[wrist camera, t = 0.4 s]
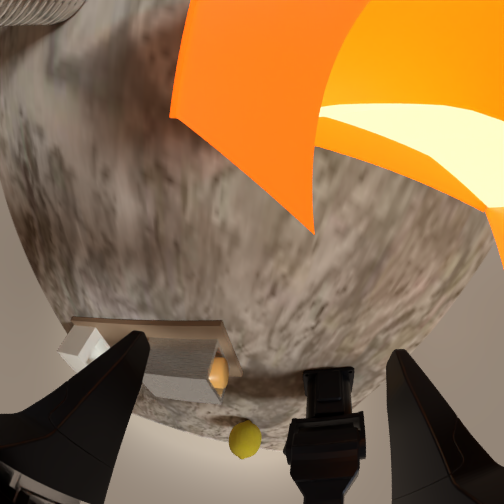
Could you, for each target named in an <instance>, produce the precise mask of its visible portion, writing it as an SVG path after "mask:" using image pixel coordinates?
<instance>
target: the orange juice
mask: <svg viewBox="0 0 504 504" xmlns="http://www.w3.org/2000/svg"><path fill="white" fill-rule="evenodd" d="M169 118H178V119H179V120H180V121H182V122H183V123H184V124H185V125H187V126H188V127H189V128H191V129H192V130H193V131H194V132H196V133H197V134H198V135H199V136H201V137H202V138H203V139H204V140H206V141H207V142H208V143H209V144H211V145H212V146H213V147H214V148H215V149H217V150H218V151H219V152H220V153H222V154H223V155H224V156H225V157H226V158H228V159H229V160H230V161H231V162H232V163H234V164H235V165H236V166H237V167H238V168H240V169H241V170H242V171H243V172H244V173H245V174H247V175H248V176H249V177H250V178H251V179H253V180H254V181H255V182H256V183H257V184H258V185H259V186H261V187H262V188H263V189H264V190H265V191H266V192H267V193H269V194H270V195H271V196H272V197H273V198H274V199H275V200H277V201H278V202H279V203H280V204H281V205H282V206H283V207H284V208H286V209H287V210H288V211H289V212H290V213H291V214H292V215H293V216H294V217H295V218H297V219H298V220H299V221H300V222H301V223H302V224H303V225H304V226H305V227H306V228H307V229H309V230H310V231H311V232H312V233H313V234H314V235H315V233H314V223H313V207H312V169H313V154H314V146H318V147H321V148H325V149H328V150H332V151H335V152H338V153H342V154H345V155H348V156H351V157H354V158H357V159H360V160H363V161H366V162H369V163H372V164H375V165H377V166H380V167H383V168H386V169H388V170H391V171H394V172H396V173H399V174H401V175H404V176H407V177H409V178H411V179H414V180H416V181H419V182H421V183H423V184H426V185H428V186H430V187H433V188H435V189H437V190H439V191H442V192H444V193H446V194H448V195H450V196H452V197H455V198H457V199H459V200H461V201H463V202H465V203H467V204H469V205H471V206H473V207H475V208H477V209H478V210H480V211H482V212H484V211H485V212H486V215H487V218H488V220H489V223H490V226H491V229H492V231H493V234H494V237H495V241H496V244H497V247H498V250H499V254H500V257H501V261H502V264H503V268H504V0H191V2H190V6H189V10H188V14H187V18H186V23H185V27H184V32H183V36H182V41H181V46H180V52H179V57H178V62H177V68H176V74H175V80H174V87H173V94H172V101H171V108H170V116H169Z"/></svg>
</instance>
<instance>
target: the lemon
mask: <svg viewBox="0 0 504 504" xmlns="http://www.w3.org/2000/svg"><path fill="white" fill-rule="evenodd" d="M260 444H261V432H260V430H259V428H258V427H257V426H256V425H255V424H252V422H251V421H250V420H246V421H245V422H242V423H239V424H237V425H236V426H234V427H233V429H232V431H231V433H230V436H229V447H230V450H231V451H232V453H234V454H235V455H236V456H238V457H239V458H240V459H244V458H247V457H251V456H253V455H254V454H255V453H256V452H257V451H258V449H259V447H260Z"/></svg>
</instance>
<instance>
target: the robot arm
mask: <svg viewBox="0 0 504 504" xmlns="http://www.w3.org/2000/svg"><path fill="white" fill-rule="evenodd" d="M149 353H150V344H149V342H148V340H147V337H146V335H145V333H144V332H143V331H138V330H133V331H132V332H130V333H129V334H128V335H126V336H125V337H124V338H122V339H121V340H120V341H118V342H117V343H116V344H115V345H113V346H112V347H111V348H109V349H108V350H107V351H105V352H104V353H103V354H101V355H100V356H99V357H98V358H96V359H95V360H94V361H92V362H91V363H90V364H88V365H87V366H86V367H85V368H83V369H82V370H81V371H79V372H78V373H77V374H76V375H74V376H73V377H72V378H71V379H69V380H68V381H66V382H65V383H64V384H63V385H61V386H60V387H59V388H57V389H56V390H55V391H53V392H52V393H50V394H49V395H47V396H46V397H44V398H43V399H41V400H40V401H38V402H36V403H35V404H33V405H32V406H30V407H28V408H27V409H25V410H23V411H21V412H18V413H14V414H0V504H80V502H81V501H84V502H87V503H90V504H104V501H105V497H106V493H107V490H108V486H109V483H110V479H111V476H112V472H113V468H114V465H115V462H116V459H117V455H118V452H119V449H120V446H121V443H122V440H123V437H124V434H125V431H126V428H127V425H128V422H129V419H130V416H131V413H132V410H133V407H134V405H135V402H136V399H137V396H138V393H139V391H140V388H141V385H142V381H143V377H144V373H145V369H146V365H147V361H148V357H149ZM353 379H354V368H352V367H350V368H340V369H328V370H314V371H304V372H303V380H304V388H305V396H307V408H306V418H304V419H297V418H293V419H292V422H291V424H290V426H289V433H288V437H287V441H286V444H285V447H284V449H283V453H284V454H285V455H286V457H287V462H288V464H289V465H291V469H290V475H291V477H292V479H293V480H294V481H295V483H296V485H297V486H298V488H299V489H300V491H301V493H302V494H303V496H304V502H303V504H344V496H345V495H346V493H347V492H348V490H349V489H350V487H351V486H352V484H353V483H354V481H355V480H356V478H357V477H358V474H359V468H360V466H359V465H360V462H359V461H360V459H365V458H366V439H365V425H364V415H363V411H360V412H358V413H352V404H351V392H352V385H353ZM386 381H387V413H388V421H389V433H390V448H391V468H392V504H504V467H503V466H501V465H499V464H497V463H496V462H495V461H494V460H493V459H492V458H491V457H490V456H489V454H488V453H487V452H486V451H485V450H484V449H483V448H482V447H481V445H480V444H479V443H478V442H477V441H476V440H475V438H473V436H472V435H471V434H470V433H469V431H468V430H467V429H466V427H465V426H464V425H463V423H462V422H461V420H460V419H459V418H458V417H457V415H456V414H455V412H454V411H453V410H452V408H451V407H450V406H449V404H448V403H447V402H446V400H445V399H444V398H443V396H442V395H441V394H440V393H439V391H438V390H437V389H436V387H435V386H434V385H433V384H432V382H431V381H430V380H429V378H428V377H427V376H426V375H425V373H424V372H423V371H422V369H421V368H420V367H419V366H418V365H417V363H416V362H415V361H414V359H413V358H412V357H411V356H410V355H409V353H408V352H407V351H406V350H405V349H395V350H394V351H393V352H392V354H391V356H390V358H389V360H388V362H387V365H386Z"/></svg>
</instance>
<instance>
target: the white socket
mask: <svg viewBox="0 0 504 504" xmlns="http://www.w3.org/2000/svg"><path fill="white" fill-rule="evenodd" d="M109 348H110V346H109V345H108V344H107V342H106V341H105V340H104V338H103V337H102V335H101V334H100V333H99V331H98V330H97V328H96V327H88V326H78V325H74V326H73V327H72V329H71V330H70V332H69V333H68V335H67V336H66V338H65V339H64V341H63V343H62V344H61V345H60V347H59V348H58V350H57V352H58V353H59V355H60V356H61V357H62V358H63V359H64V360H65V361H66V362H67V364H68V365H69V366H70V367H71V368H72V369H73V370H74V371H75V373H76V374H77V373H78V372H79V371H81V370H82V369H83V368H85V367H86V366H87V365H88V364H90V363H91V362H92V361H94V360H95V359H96V358H98V357H99V356H100V355H101V354H103V353H104V352H105V351H107V350H108V349H109Z"/></svg>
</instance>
